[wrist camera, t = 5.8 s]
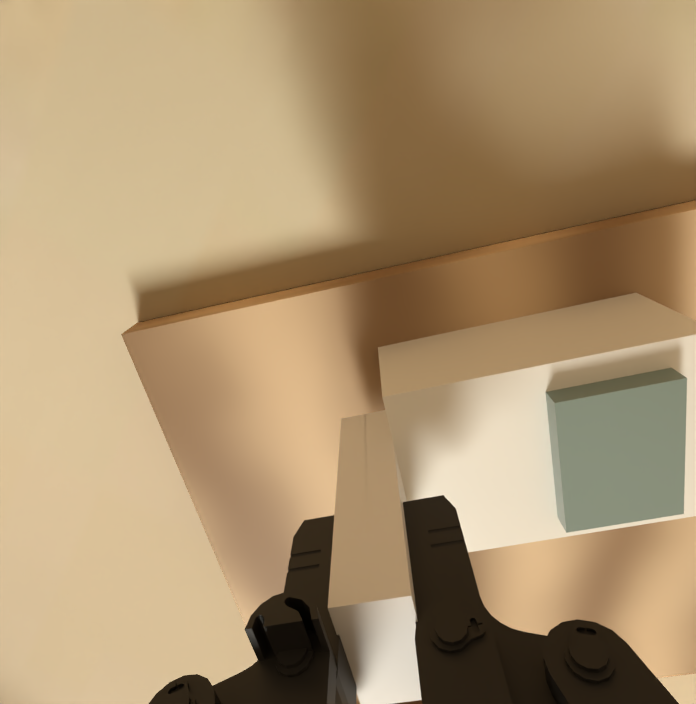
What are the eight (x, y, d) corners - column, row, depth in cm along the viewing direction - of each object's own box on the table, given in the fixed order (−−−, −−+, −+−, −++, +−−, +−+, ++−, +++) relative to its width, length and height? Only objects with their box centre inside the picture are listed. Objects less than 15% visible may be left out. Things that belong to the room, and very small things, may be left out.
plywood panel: (290, 696, 24) (277, 803, 20) (137, 322, 16) (68, 372, 12) (958, 610, 21) (1099, 716, 17) (1129, 105, 13) (1446, 81, 9)
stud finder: (409, 484, 17) (423, 576, 13) (377, 347, 15) (383, 408, 11) (638, 444, 16) (723, 529, 13) (636, 292, 14) (734, 338, 11)
